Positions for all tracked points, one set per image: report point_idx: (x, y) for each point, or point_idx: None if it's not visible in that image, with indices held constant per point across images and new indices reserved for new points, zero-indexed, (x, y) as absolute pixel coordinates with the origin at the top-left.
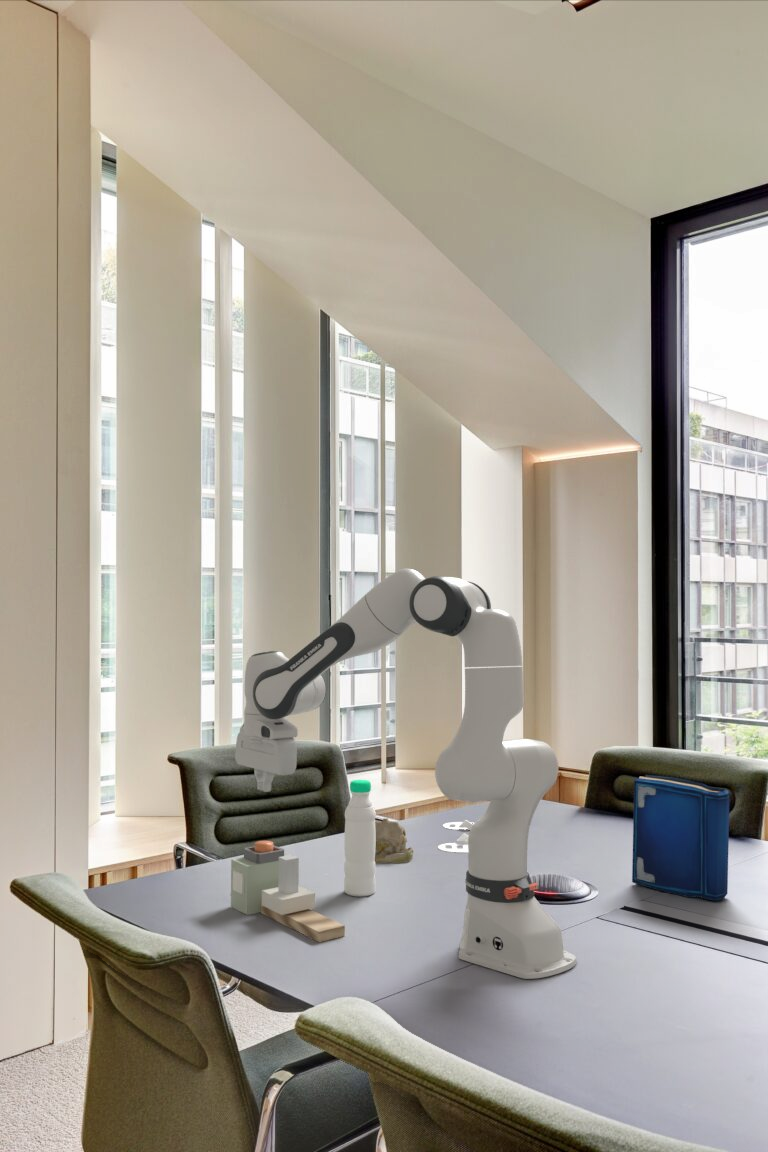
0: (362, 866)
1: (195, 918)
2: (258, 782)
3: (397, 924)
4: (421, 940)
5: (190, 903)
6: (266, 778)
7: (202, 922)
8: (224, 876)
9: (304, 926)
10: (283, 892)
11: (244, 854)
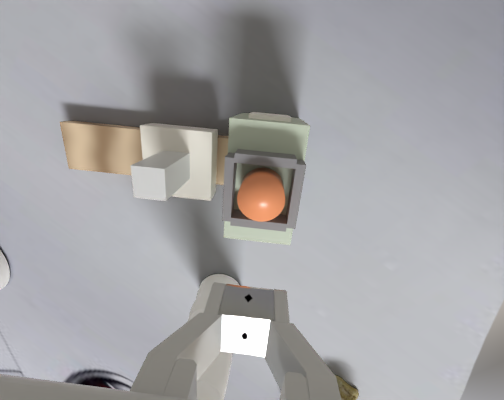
0: (191, 311)
1: (289, 24)
2: (274, 318)
3: (88, 240)
4: (25, 222)
5: (370, 69)
6: (166, 344)
7: (261, 22)
8: (445, 209)
9: (101, 125)
10: (171, 151)
11: (294, 156)
